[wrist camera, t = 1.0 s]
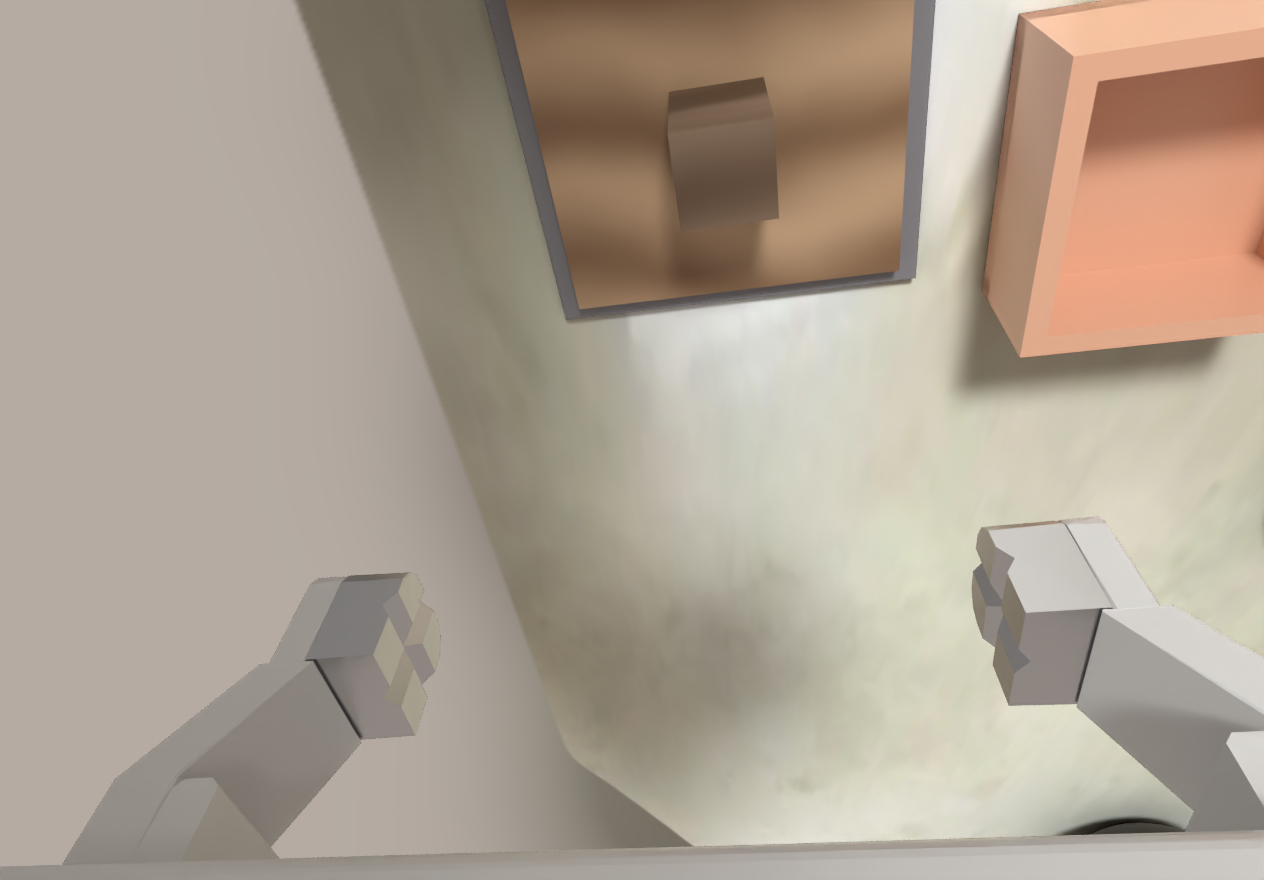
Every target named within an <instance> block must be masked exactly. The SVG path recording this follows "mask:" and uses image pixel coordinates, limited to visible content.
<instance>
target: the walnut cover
mask: <svg viewBox="0 0 1264 880" xmlns="http://www.w3.org/2000/svg"><path fill="white" fill-rule="evenodd" d="M505 1H506V5H507V9H508V14H509V18H510V22H511V26H512V30H513V34H514V39H515V43H516V47H517V51H518V55H519V60H520V64H521V68H522V72H523V76H524V80H525V85H526V89H527V93H528V97H529V101H530V105H531V110H532V114H533V118H534V122H535V126H536V130H537V135H538V139H539V143H540V147H541V151H542V155H543V160H544V164H545V168H546V172H547V176H548V181H549V185H550V189H551V193H552V197H553V201H554V206H555V210H556V214H557V218H558V222H559V226H560V231H561V235H562V239H563V243H564V247H565V251H566V256H567V260H568V264H569V268H570V272H571V277H572V281H573V285H574V289H575V293H576V297H577V302H578V306H579V309H587V308H595V307H603V306H611V305H620V304H628V303H636V302H645V301H653V300H661V299H669V298H678V297H686V296H694V295H703V294H711V293H719V292H727V291H736V290H744V289H752V288H760V287H769V286H777V285H785V284H794V283H802V282H810V281H818V280H827V279H835V278H843V277H851V276H860V275H868V274H876V273H885V272H893V271H899V268H900V250H901V232H902V215H903V197H904V179H905V161H906V144H907V126H908V108H909V90H910V73H911V55H912V37H913V19H914V2H915V0H505Z"/></svg>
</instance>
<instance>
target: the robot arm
mask: <svg viewBox="0 0 1264 880" xmlns="http://www.w3.org/2000/svg"><path fill="white" fill-rule="evenodd" d="M976 550H977V552H978V555H979V557H980V559H981V562H982V563H981V564H980V565H979V566H978V567H977V568H976V569H975V570H974V571H973V578H972V600H973V609H974V613H975V617H976V621H977V624H978V627H979V630H980V632H981V635H982V638H983V639H985V640H986V641H987V642H989V643H990V644H991V645H993V646H994V647H995V652H994V659H993V667H994V669H995V672H996V674H997V677H998V679H999V682H1000V684H1001V687H1002V690H1003V692H1004V695H1005V697H1006V700H1007V702H1008V705H1009V706H1015V705H1055V704H1077V708H1078V709H1079V710H1080V711H1081V712H1083V713H1084V714H1085V715H1086V716H1087V717H1088V718H1089V719H1091V720H1092V721H1093V722H1094V723H1095V724H1096V725H1097V726H1098V727H1100V728H1101V729H1102V730H1103V731H1104V732H1105V733H1106V734H1108V735H1109V736H1110V737H1111V738H1112V739H1113V740H1114V741H1115V742H1117V743H1118V744H1119V745H1120V746H1121V747H1122V748H1123V749H1124V750H1126V751H1127V752H1128V753H1129V754H1130V755H1131V756H1132V757H1134V758H1135V759H1136V760H1137V761H1138V762H1139V763H1140V764H1141V765H1143V766H1144V767H1145V768H1146V769H1147V770H1148V771H1149V772H1151V773H1152V774H1153V775H1154V776H1155V777H1156V778H1157V779H1158V780H1160V781H1161V782H1162V783H1163V784H1164V785H1165V786H1166V787H1167V788H1169V789H1170V790H1171V791H1172V792H1173V793H1174V794H1175V795H1177V796H1178V797H1179V798H1180V799H1181V800H1182V801H1183V802H1184V803H1186V804H1187V805H1188V806H1189V807H1190V808H1191V809H1192V810H1194V813H1193V815H1192V817H1191V819H1190V822H1189V824H1188V826H1187V828H1186V830H1185V832H1168V833H1134V834H1100V835H1065V836H1031V837H997V838H963V839H930V840H897V841H864V842H831V843H798V844H765V845H732V846H698V847H664V848H631V849H593V850H558V851H526V852H525V851H524V852H492V853H491V852H490V853H455V854H421V855H387V856H354V857H353V856H351V857H317V858H283V859H280V858H279V857H278V856H277V855H276V853H275V852H274V851H273V850H272V849H271V846H272V845H273V844H274V843H275V842H276V841H277V839H278V838H279V837H280V836H281V835H282V834H283V833H284V831H285V830H286V829H287V828H288V827H289V826H290V824H291V823H292V822H293V821H294V820H295V819H296V817H297V816H298V815H299V814H300V813H301V812H302V811H303V809H304V808H305V807H306V806H307V805H308V804H309V803H310V802H311V800H312V799H313V798H314V797H315V796H316V795H317V793H318V792H319V791H320V790H321V789H322V788H323V787H324V785H325V784H326V783H327V782H328V781H329V780H330V779H331V777H332V776H333V775H334V774H335V773H336V772H337V770H338V769H339V768H340V767H341V766H342V764H344V762H345V761H346V760H347V759H348V758H349V757H350V755H351V754H352V753H353V752H354V751H355V750H356V749H357V747H358V746H359V745H360V744H361V740H363V739H376V738H388V737H400V736H413V735H416V732H417V729H418V726H419V723H420V719H421V716H422V713H423V710H424V706H425V703H426V700H427V694H426V692H425V690H424V688H423V686H422V684H423V683H424V682H425V681H426V680H427V679H428V678H429V677H430V676H431V675H432V674H433V673H434V672H435V671H436V667H437V664H438V660H439V656H440V640H441V635H440V629H439V624H438V620H437V618H436V616H435V614H434V611H433V610H432V609H431V608H429V607H428V606H426V605H425V604H423V603H422V602H420V601H421V598H422V595H423V592H424V588H423V586H422V584H421V582H420V580H419V578H418V577H417V575H416V574H413V573H393V574H374V575H356V576H348V577H330V578H318V579H317V580H315V581H314V582H313V583H311V584H310V586H309V587H308V589H307V591H306V593H305V595H304V597H303V599H302V601H301V603H300V605H299V607H298V609H297V611H296V613H295V614H294V616H293V618H292V620H291V622H290V624H289V626H288V628H287V630H286V632H285V634H284V636H283V637H282V639H281V642H280V643H279V645H278V647H277V649H276V651H275V653H274V655H273V657H272V659H271V661H270V663H268V664H259V665H258V666H257V667H256V668H254V669H253V670H252V671H251V672H249V673H248V674H247V675H245V676H244V677H243V678H242V679H240V680H239V681H238V682H237V683H236V684H234V685H233V686H232V687H230V688H229V689H228V690H227V691H225V692H224V693H223V694H221V695H220V696H219V697H218V698H216V699H215V700H214V701H213V702H211V703H210V704H209V705H208V706H206V707H205V708H204V709H203V710H201V711H200V712H199V713H197V714H196V715H195V716H194V717H192V718H191V719H190V720H189V721H187V722H186V723H185V724H184V725H182V726H181V727H180V728H179V729H177V730H176V731H175V732H173V733H172V734H171V735H170V736H168V737H167V738H166V739H165V740H163V741H162V742H161V743H160V744H158V745H157V746H156V747H155V748H153V749H152V750H151V751H150V752H148V753H147V754H146V755H144V756H143V757H142V758H141V759H139V760H138V761H137V762H136V763H134V764H133V765H132V766H131V767H129V768H128V769H127V770H126V771H124V772H123V773H122V774H120V775H119V776H118V777H117V778H116V779H115V780H114V781H113V783H112V784H111V786H110V788H109V789H108V791H107V793H106V794H105V796H104V797H103V799H102V801H101V803H100V804H99V805H98V807H97V809H96V810H95V812H94V813H93V815H92V817H91V819H90V820H89V822H88V823H87V825H86V826H85V828H84V830H83V831H82V833H81V834H80V836H79V838H78V839H77V841H76V843H75V844H74V846H73V847H72V849H71V851H70V852H69V854H68V855H67V857H66V859H65V860H64V862H63V864H62V865H42V866H41V865H40V866H6V867H0V880H1264V658H1263V657H1262V656H1260V655H1258V654H1256V653H1255V652H1253V651H1251V650H1249V649H1248V648H1246V647H1244V646H1242V645H1241V644H1239V643H1237V642H1236V641H1234V640H1232V639H1230V638H1229V637H1227V636H1225V635H1223V634H1222V633H1220V632H1218V631H1216V630H1215V629H1213V628H1211V627H1210V626H1208V625H1206V624H1204V623H1203V622H1201V621H1199V620H1197V619H1196V618H1194V617H1192V616H1191V615H1189V614H1187V613H1185V612H1184V611H1182V610H1180V609H1178V608H1177V607H1175V606H1173V605H1171V606H1160V604H1159V603H1158V601H1157V600H1156V598H1155V596H1154V595H1153V593H1152V592H1151V590H1150V589H1149V587H1148V586H1147V584H1146V583H1145V581H1144V579H1143V578H1142V576H1141V575H1140V573H1139V572H1138V570H1137V569H1136V567H1135V566H1134V564H1133V563H1132V561H1131V559H1130V558H1129V556H1128V555H1127V553H1126V552H1125V550H1124V549H1123V547H1122V546H1121V544H1120V542H1119V541H1118V539H1117V538H1116V536H1115V535H1114V533H1113V532H1112V530H1111V529H1110V527H1109V526H1108V524H1107V522H1106V521H1105V520H1103V519H1101V518H1100V517H1088V518H1077V519H1066V520H1059V521H1046V522H1035V523H1023V524H1012V525H1001V526H989V527H981V529H980V531H979V533H978V537H977V544H976Z"/></svg>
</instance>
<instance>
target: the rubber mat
mask: <svg viewBox="0 0 1264 880" xmlns="http://www.w3.org/2000/svg"><path fill="white" fill-rule="evenodd" d="M485 2H486V6H487V10H488V14H489V18H490V21H491V25H492V29H493V33H494V37H495V41H496V45H497V49H498V53H499V57H500V61H501V65H502V69H503V73H504V77H505V80H506V84H507V88H508V92H509V96H510V100H511V104H512V108H513V112H514V116H515V120H516V124H517V128H518V132H519V136H520V139H521V143H522V147H523V151H524V155H525V159H526V163H527V167H528V171H529V175H530V179H531V183H532V187H533V191H534V195H535V198H536V202H537V206H538V210H539V214H540V218H541V222H542V226H543V230H544V234H545V238H546V242H547V246H548V250H549V254H550V257H551V261H552V265H553V269H554V273H555V277H556V281H557V285H558V289H559V293H560V297H561V301H562V305H563V309H564V313H565V316H566V320H568V319H576V318H585V317H593V316H601V315H610V314H618V313H627V312H635V311H643V310H652V309H660V308H669V307H677V306H685V305H694V304H702V303H710V302H719V301H727V300H736V299H744V298H752V297H761V296H769V295H778V294H786V293H794V292H803V291H811V290H819V289H828V288H836V287H845V286H853V285H861V284H870V283H878V282H887V281H895V280H903V279H912V278H916V265H917V251H918V237H919V223H920V209H921V195H922V181H923V167H924V153H925V139H926V125H927V111H928V97H929V83H930V69H931V55H932V41H933V27H934V13H935V0H915V2H914V19H913V37H912V55H911V73H910V90H909V108H908V126H907V144H906V161H905V179H904V197H903V215H902V232H901V250H900V268H899V271H893V272H885V273H876V274H868V275H860V276H851V277H843V278H835V279H827V280H818V281H810V282H802V283H794V284H785V285H777V286H769V287H760V288H752V289H744V290H736V291H727V292H719V293H711V294H703V295H694V296H686V297H678V298H669V299H661V300H653V301H645V302H636V303H628V304H620V305H611V306H603V307H595V308H587V309H579V306H578V302H577V297H576V293H575V289H574V285H573V281H572V277H571V272H570V268H569V264H568V260H567V256H566V251H565V247H564V243H563V239H562V235H561V231H560V226H559V222H558V218H557V214H556V210H555V206H554V201H553V197H552V193H551V189H550V185H549V181H548V176H547V172H546V168H545V164H544V160H543V155H542V151H541V147H540V143H539V139H538V135H537V130H536V126H535V122H534V118H533V114H532V110H531V105H530V101H529V97H528V93H527V89H526V85H525V80H524V76H523V72H522V68H521V64H520V60H519V55H518V51H517V47H516V43H515V39H514V34H513V30H512V26H511V22H510V18H509V14H508V9H507V5H506V1H505V0H485Z"/></svg>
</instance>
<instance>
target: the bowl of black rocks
mask: <svg viewBox="0 0 1264 880" xmlns="http://www.w3.org/2000/svg"><path fill="white" fill-rule="evenodd" d="M1168 832H1185V830H1182V829H1178V828H1175V827H1170V826H1166V825H1160V824H1152V823H1127V824H1120V825H1115V826H1110V827H1107V828H1104V829H1101V830H1099V831H1097V832H1094V833H1092V834H1090V835H1100V834H1134V833H1168Z"/></svg>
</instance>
